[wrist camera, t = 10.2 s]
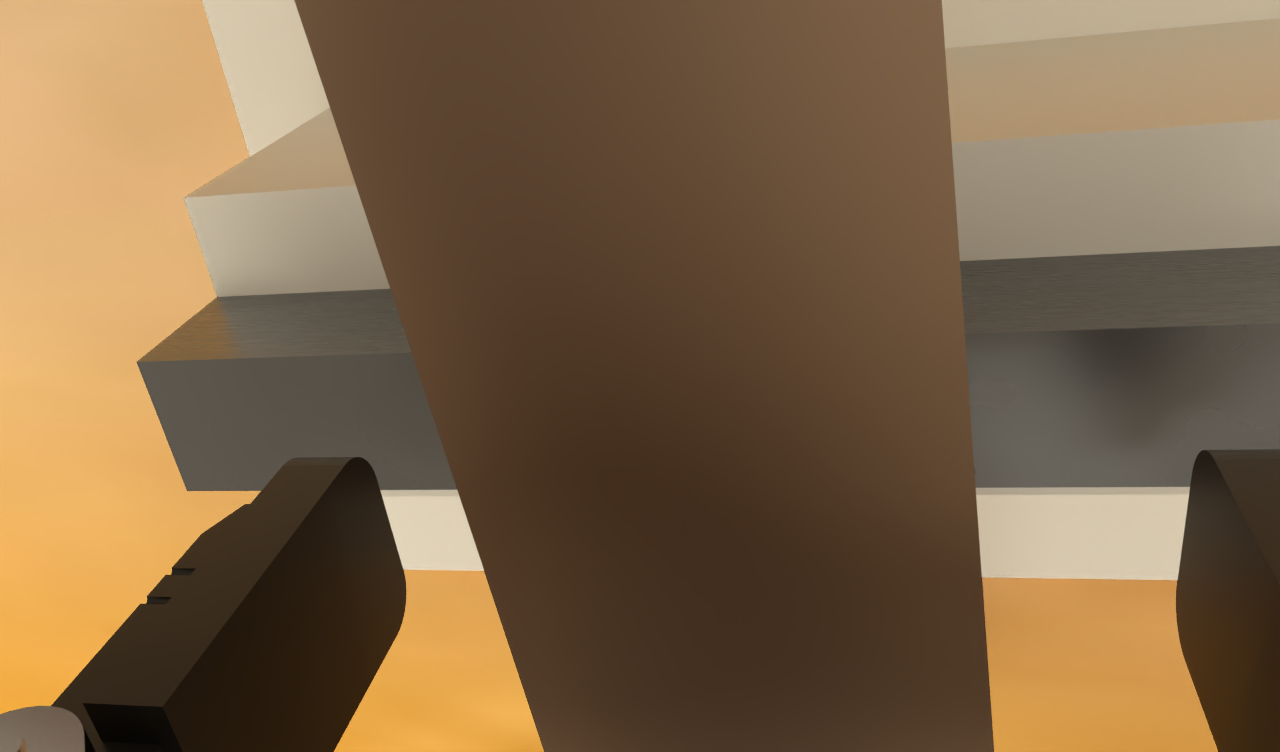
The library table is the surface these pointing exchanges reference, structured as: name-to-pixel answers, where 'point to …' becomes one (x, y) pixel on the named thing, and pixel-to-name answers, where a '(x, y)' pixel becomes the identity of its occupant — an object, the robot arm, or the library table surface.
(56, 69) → the library table surface
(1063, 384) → the white stand base
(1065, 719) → the library table surface
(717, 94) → the walnut bar
